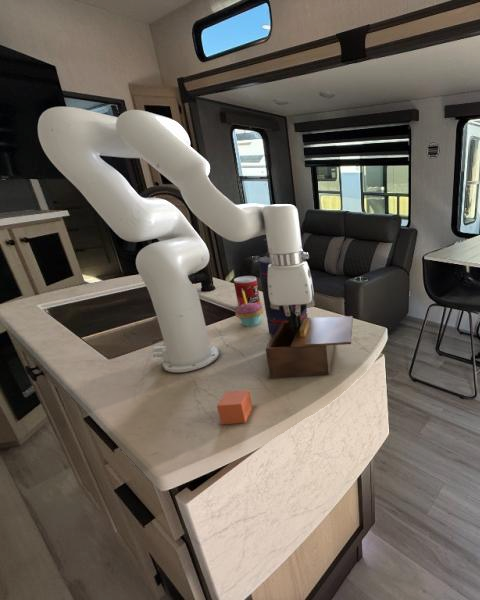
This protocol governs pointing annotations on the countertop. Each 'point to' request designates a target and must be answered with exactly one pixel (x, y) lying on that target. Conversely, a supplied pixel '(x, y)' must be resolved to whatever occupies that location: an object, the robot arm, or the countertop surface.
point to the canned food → (247, 289)
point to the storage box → (296, 356)
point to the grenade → (272, 314)
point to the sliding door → (324, 331)
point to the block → (235, 407)
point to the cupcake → (249, 312)
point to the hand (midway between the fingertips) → (296, 328)
